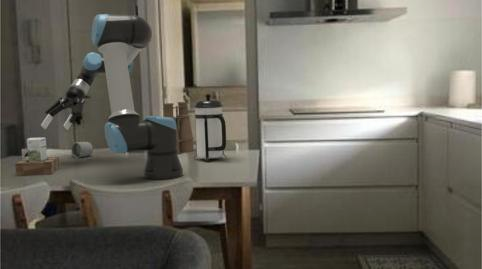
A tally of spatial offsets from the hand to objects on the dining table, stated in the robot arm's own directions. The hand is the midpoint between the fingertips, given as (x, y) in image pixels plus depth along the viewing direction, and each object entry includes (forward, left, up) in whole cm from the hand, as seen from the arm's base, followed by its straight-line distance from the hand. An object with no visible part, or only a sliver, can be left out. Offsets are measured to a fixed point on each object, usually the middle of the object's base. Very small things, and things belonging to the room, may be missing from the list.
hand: (54, 127), depth 234 cm
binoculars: (+31, -52, -18) cm, 63 cm away
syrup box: (-8, +6, -18) cm, 21 cm away
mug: (+19, +15, -18) cm, 30 cm away
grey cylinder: (+31, -4, -18) cm, 36 cm away
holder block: (-8, +6, -18) cm, 20 cm away
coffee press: (+2, -68, -18) cm, 71 cm away
